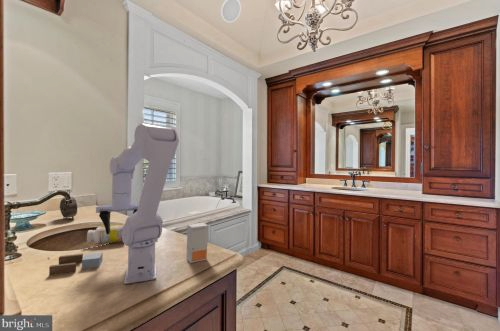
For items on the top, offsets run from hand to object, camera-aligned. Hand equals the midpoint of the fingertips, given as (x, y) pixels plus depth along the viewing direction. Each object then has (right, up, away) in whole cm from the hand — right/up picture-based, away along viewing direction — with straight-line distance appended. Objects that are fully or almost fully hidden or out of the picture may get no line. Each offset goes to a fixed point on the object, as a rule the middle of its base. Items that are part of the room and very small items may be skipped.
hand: (121, 232), depth 78 cm
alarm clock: (-56, -7, +47) cm, 73 cm away
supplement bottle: (-7, -5, +16) cm, 18 cm away
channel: (-12, -8, -8) cm, 17 cm away
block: (-6, -9, -6) cm, 12 cm away
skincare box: (+26, -10, 0) cm, 28 cm away
